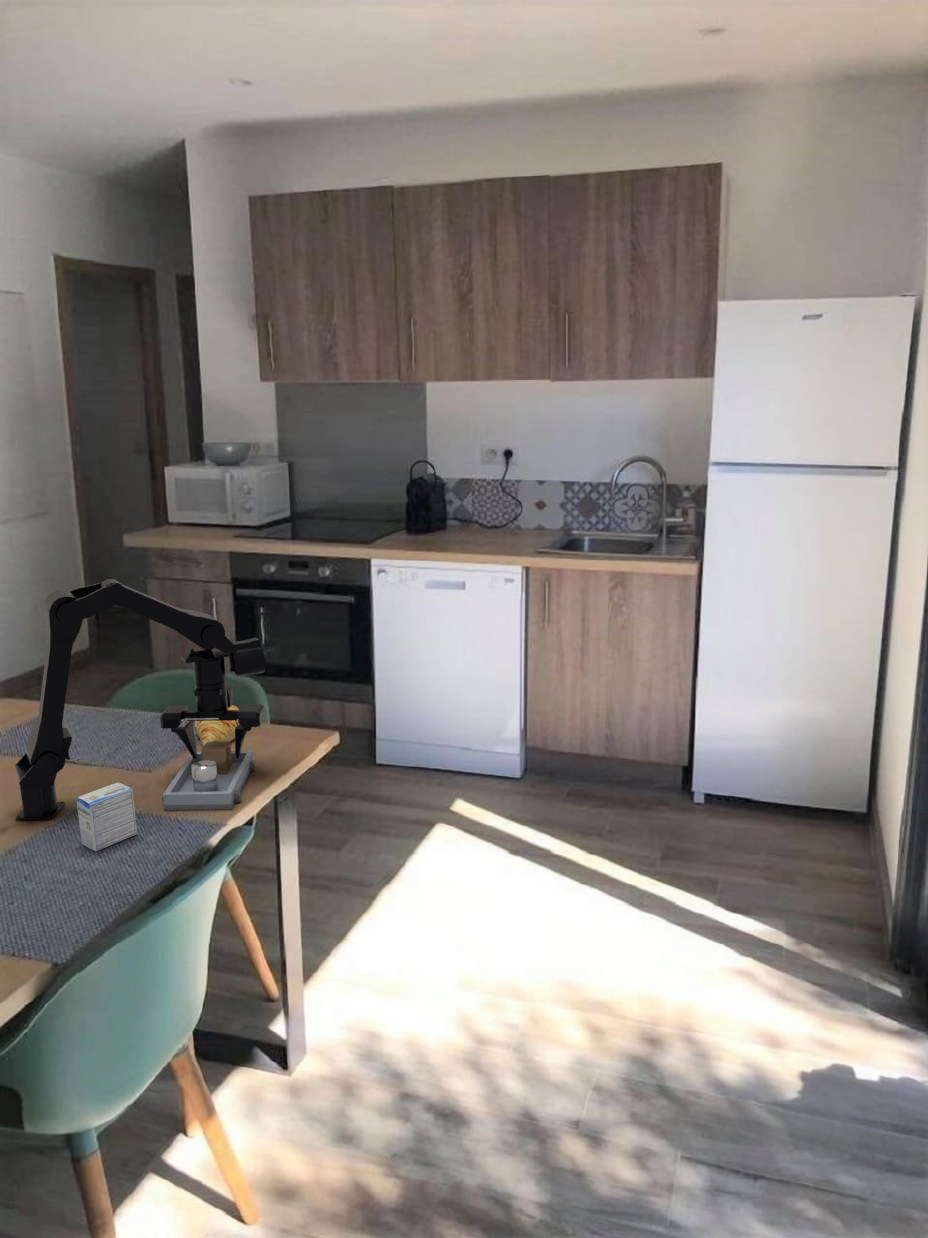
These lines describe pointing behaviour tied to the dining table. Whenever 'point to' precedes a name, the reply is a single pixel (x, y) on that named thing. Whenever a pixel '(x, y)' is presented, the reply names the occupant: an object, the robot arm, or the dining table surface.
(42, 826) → the dining table surface
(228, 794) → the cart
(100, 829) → the medicine box
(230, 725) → the croissant
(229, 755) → the walnut block
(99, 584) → the robot arm
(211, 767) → the cylinder
